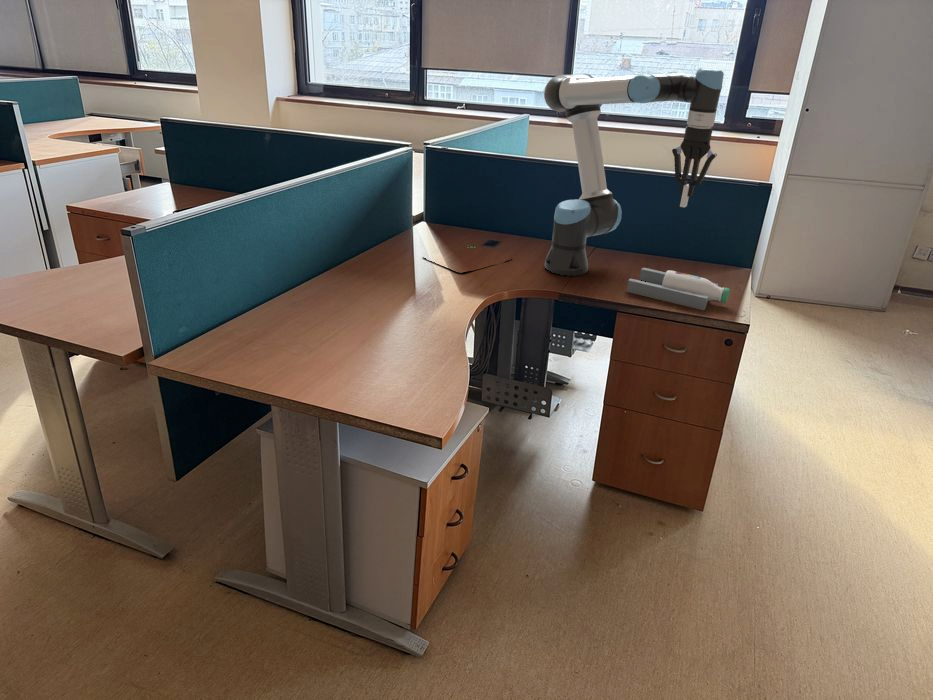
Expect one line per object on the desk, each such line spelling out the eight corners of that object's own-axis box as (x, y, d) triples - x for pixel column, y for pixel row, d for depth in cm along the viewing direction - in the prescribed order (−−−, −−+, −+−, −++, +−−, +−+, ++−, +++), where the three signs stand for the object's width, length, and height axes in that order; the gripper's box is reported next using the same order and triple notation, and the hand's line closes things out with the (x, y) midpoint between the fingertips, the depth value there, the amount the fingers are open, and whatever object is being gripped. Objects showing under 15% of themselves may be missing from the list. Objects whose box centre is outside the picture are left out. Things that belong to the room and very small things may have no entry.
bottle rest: (626, 291, 212) (628, 280, 210) (641, 278, 224) (643, 267, 222) (704, 310, 201) (706, 298, 199) (715, 295, 212) (718, 284, 210)
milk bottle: (660, 297, 212) (723, 312, 204) (661, 282, 206) (726, 297, 198) (667, 280, 216) (730, 294, 207) (668, 264, 210) (733, 278, 201)
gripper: (673, 125, 189) (658, 204, 201) (719, 130, 184) (701, 212, 195) (681, 122, 195) (666, 200, 206) (725, 127, 189) (707, 207, 200)
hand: (683, 206), depth 200 cm, fingers closed
